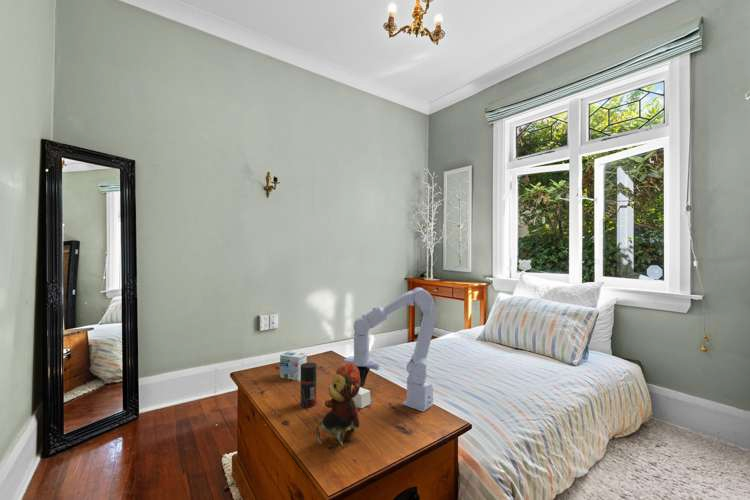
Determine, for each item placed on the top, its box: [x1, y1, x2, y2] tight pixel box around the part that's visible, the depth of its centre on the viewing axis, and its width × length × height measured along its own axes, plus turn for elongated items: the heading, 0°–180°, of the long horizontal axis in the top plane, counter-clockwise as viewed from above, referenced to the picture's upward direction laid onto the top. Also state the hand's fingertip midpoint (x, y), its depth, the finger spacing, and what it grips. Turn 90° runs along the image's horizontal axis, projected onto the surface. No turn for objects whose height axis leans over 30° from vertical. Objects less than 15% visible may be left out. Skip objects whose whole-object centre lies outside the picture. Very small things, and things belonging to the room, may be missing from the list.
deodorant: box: [300, 362, 318, 409], centre depth 131 cm, size 6×6×15 cm
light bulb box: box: [279, 350, 308, 382], centre depth 159 cm, size 11×7×11 cm, turn 68°
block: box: [353, 387, 371, 409], centre depth 131 cm, size 5×5×9 cm
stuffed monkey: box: [315, 362, 361, 446], centre depth 105 cm, size 15×17×25 cm
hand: (361, 385), depth 129 cm, fingers closed
